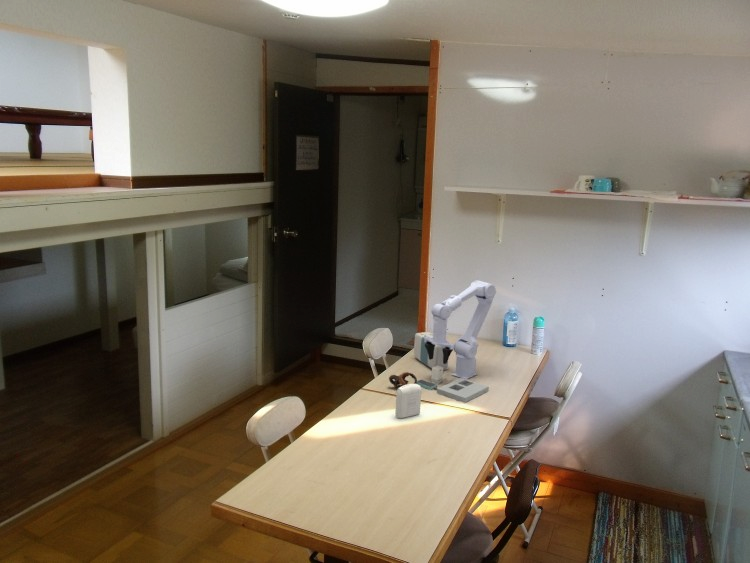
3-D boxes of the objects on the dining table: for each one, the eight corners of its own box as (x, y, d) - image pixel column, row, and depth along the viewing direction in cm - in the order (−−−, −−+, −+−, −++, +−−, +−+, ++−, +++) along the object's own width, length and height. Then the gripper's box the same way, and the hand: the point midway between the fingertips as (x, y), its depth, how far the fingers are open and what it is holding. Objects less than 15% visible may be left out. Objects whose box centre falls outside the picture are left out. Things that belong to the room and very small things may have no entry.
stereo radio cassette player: (412, 358, 301) (414, 319, 296) (427, 356, 304) (429, 317, 300) (434, 373, 282) (437, 331, 278) (449, 370, 286) (452, 329, 281)
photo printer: (415, 410, 241) (416, 380, 238) (421, 414, 237) (423, 384, 234) (393, 415, 235) (394, 385, 232) (400, 419, 231) (401, 388, 229)
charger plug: (436, 379, 274) (437, 365, 273) (442, 381, 272) (443, 367, 271) (431, 381, 271) (431, 367, 270) (437, 383, 269) (437, 369, 268)
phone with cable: (414, 384, 267) (414, 381, 267) (420, 381, 270) (420, 379, 270) (437, 392, 259) (437, 389, 259) (443, 389, 262) (444, 386, 262)
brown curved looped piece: (413, 385, 268) (419, 372, 263) (412, 401, 260) (418, 389, 255) (386, 377, 267) (392, 365, 262) (385, 394, 259) (390, 382, 254)
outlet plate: (460, 382, 272) (461, 377, 271) (488, 391, 263) (488, 385, 262) (436, 393, 258) (437, 387, 258) (465, 402, 249) (465, 397, 249)
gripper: (420, 329, 268) (419, 359, 271) (448, 336, 259) (446, 367, 262) (430, 326, 274) (428, 355, 277) (457, 333, 264) (455, 363, 267)
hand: (438, 361), depth 270 cm, fingers open, 7 cm apart
